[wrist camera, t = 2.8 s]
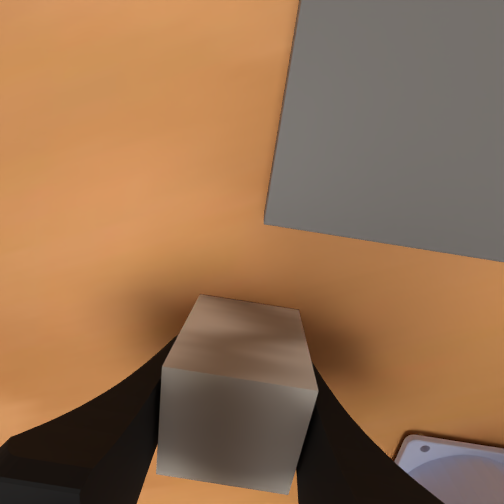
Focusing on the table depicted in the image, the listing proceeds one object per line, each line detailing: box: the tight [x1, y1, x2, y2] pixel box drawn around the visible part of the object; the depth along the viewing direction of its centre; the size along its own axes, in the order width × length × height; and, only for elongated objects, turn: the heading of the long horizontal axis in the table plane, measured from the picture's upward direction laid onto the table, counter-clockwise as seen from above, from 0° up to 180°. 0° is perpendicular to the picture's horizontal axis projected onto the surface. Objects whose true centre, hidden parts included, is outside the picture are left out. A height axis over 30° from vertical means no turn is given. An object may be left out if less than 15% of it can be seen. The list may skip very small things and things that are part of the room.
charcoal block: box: [264, 0, 504, 262], centre depth 9 cm, size 12×12×3 cm
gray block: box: [156, 294, 318, 495], centre depth 11 cm, size 5×5×5 cm
